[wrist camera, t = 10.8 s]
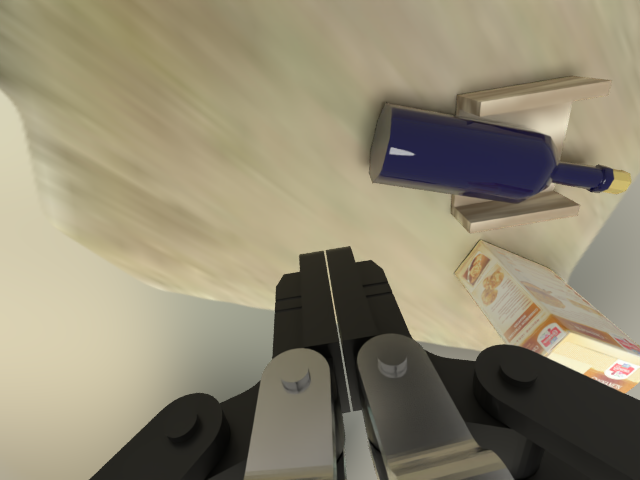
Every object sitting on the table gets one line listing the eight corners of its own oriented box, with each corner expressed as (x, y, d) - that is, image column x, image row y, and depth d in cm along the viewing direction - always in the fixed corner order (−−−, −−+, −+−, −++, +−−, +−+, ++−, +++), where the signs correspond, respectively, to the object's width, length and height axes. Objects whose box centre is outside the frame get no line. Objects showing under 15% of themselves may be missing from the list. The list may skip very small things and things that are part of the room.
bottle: (365, 184, 45) (580, 217, 47) (382, 182, 35) (647, 223, 38) (377, 111, 43) (596, 148, 46) (398, 89, 34) (670, 137, 37)
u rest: (456, 94, 42) (481, 102, 36) (571, 76, 42) (612, 80, 36) (450, 213, 50) (469, 233, 44) (547, 197, 50) (577, 215, 44)
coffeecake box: (452, 273, 55) (525, 375, 38) (479, 237, 52) (571, 330, 35) (522, 300, 59) (616, 403, 42) (551, 268, 56) (665, 365, 39)
